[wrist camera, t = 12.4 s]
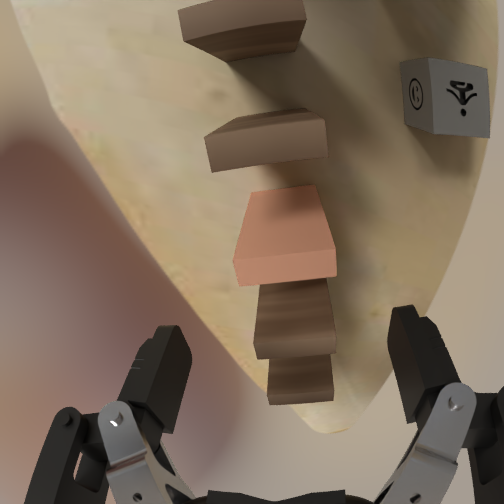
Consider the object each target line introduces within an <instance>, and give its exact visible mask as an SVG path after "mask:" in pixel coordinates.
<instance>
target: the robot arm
mask: <svg viewBox="0 0 504 504" xmlns="http://www.w3.org/2000/svg"><path fill="white" fill-rule="evenodd" d="M387 343H388V351H389V354H390V358H391V361H392V365H393V368H394V372H395V376H396V380H397V383H398V387H399V391H400V395H401V399H402V403H403V408H404V412H405V416H406V421H407V424H408V423H413V422H416V423H417V427H418V430H417V432H416V434H415V436H414V438H413V439H412V442H411V443H410V445H409V447H408V449H407V451H406V452H405V454H404V456H403V458H402V459H401V461H400V463H399V465H398V466H397V468H396V469H395V471H394V473H393V474H392V476H391V477H390V479H389V480H388V481H387V483H386V484H385V485H384V487H383V488H382V490H381V492H380V493H379V494H378V496H377V497H376V499H375V500H374V501H373V502H371V501H369V500H366V499H364V498H360V497H357V496H352V495H345V490H338V491H328V492H317V493H309V494H305V495H302V496H298V497H294V498H290V499H286V500H281V501H268V500H264V499H260V498H256V497H252V496H249V495H245V494H242V493H232V492H221V491H211V490H208V495H207V496H203V497H199V498H196V497H195V496H194V494H193V493H192V491H191V490H190V489H189V487H188V486H187V485H186V484H185V483H184V481H183V480H182V479H181V477H180V475H179V474H178V472H177V470H176V468H175V466H174V464H173V462H172V460H171V458H170V457H169V455H168V452H167V450H166V448H165V446H164V444H163V443H162V441H161V436H162V433H169V434H173V431H174V427H175V423H176V419H177V416H178V412H179V408H180V405H181V401H182V398H183V394H184V390H185V387H186V383H187V380H188V376H189V372H190V369H191V365H192V354H191V351H190V348H189V346H188V344H187V342H186V340H185V338H184V335H183V334H182V331H181V329H180V327H179V326H177V325H170V326H158V328H157V329H156V332H155V334H154V336H153V339H147V340H146V342H145V343H144V344H143V345H142V346H141V347H140V348H139V351H138V353H137V355H136V357H135V360H134V362H133V364H132V366H131V367H132V369H130V371H129V373H128V376H127V378H126V380H125V383H124V385H123V387H122V390H121V392H120V394H119V397H118V399H117V401H114V402H110V403H108V404H107V405H106V406H104V407H103V408H102V410H101V411H100V412H99V413H92V414H84V415H82V414H81V413H80V412H79V411H78V410H77V409H75V408H73V407H66V408H63V409H62V410H60V411H59V412H58V413H57V414H56V416H55V418H54V420H53V422H52V425H51V427H50V430H49V432H48V435H47V437H46V440H45V442H44V445H43V448H42V450H41V453H40V456H39V458H38V461H37V464H36V467H35V470H34V473H33V476H32V479H31V482H30V485H29V489H28V492H27V495H26V499H25V502H24V504H105V501H106V496H107V492H108V488H109V485H110V488H111V491H112V493H113V496H114V499H115V501H116V504H440V503H441V501H442V499H443V497H444V495H445V494H446V492H447V490H448V488H449V486H450V484H451V481H452V479H453V477H454V475H455V473H456V470H457V466H458V463H457V462H456V460H457V457H458V454H459V452H460V449H461V448H467V449H468V455H469V461H470V467H471V473H472V480H473V487H474V496H475V504H504V386H503V387H502V388H501V390H500V391H499V392H498V393H476V392H473V390H472V389H471V388H470V387H469V386H467V385H465V384H463V383H461V381H460V379H459V377H458V374H457V372H456V369H455V367H454V364H453V362H452V359H451V357H450V355H449V352H448V350H447V348H446V347H445V343H444V341H443V339H442V338H441V335H440V333H439V330H438V328H437V326H436V325H435V324H434V323H433V322H432V321H431V320H430V319H429V318H428V317H427V316H426V317H419V315H418V313H417V311H416V309H415V307H414V305H407V306H400V307H394V308H393V310H392V315H391V320H390V326H389V332H388V338H387ZM80 452H81V453H82V454H83V455H82V458H81V461H80V464H79V467H78V471H77V474H76V478H75V480H74V477H73V473H74V469H75V466H76V463H77V460H78V457H79V454H80Z"/></svg>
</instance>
